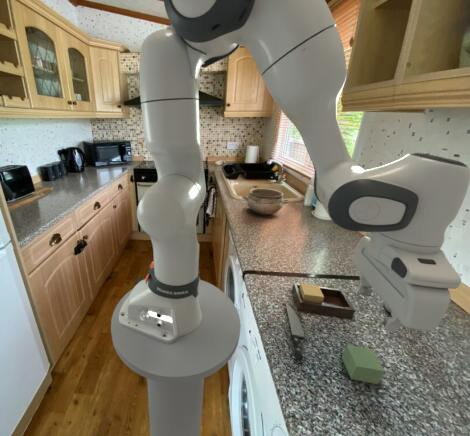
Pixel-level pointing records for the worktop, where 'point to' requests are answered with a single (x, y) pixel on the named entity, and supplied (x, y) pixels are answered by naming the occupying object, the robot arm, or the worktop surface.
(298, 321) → the chef's knife
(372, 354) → the green block
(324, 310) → the brown wooden tray
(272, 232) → the worktop surface
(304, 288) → the tan block
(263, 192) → the cooking pot
